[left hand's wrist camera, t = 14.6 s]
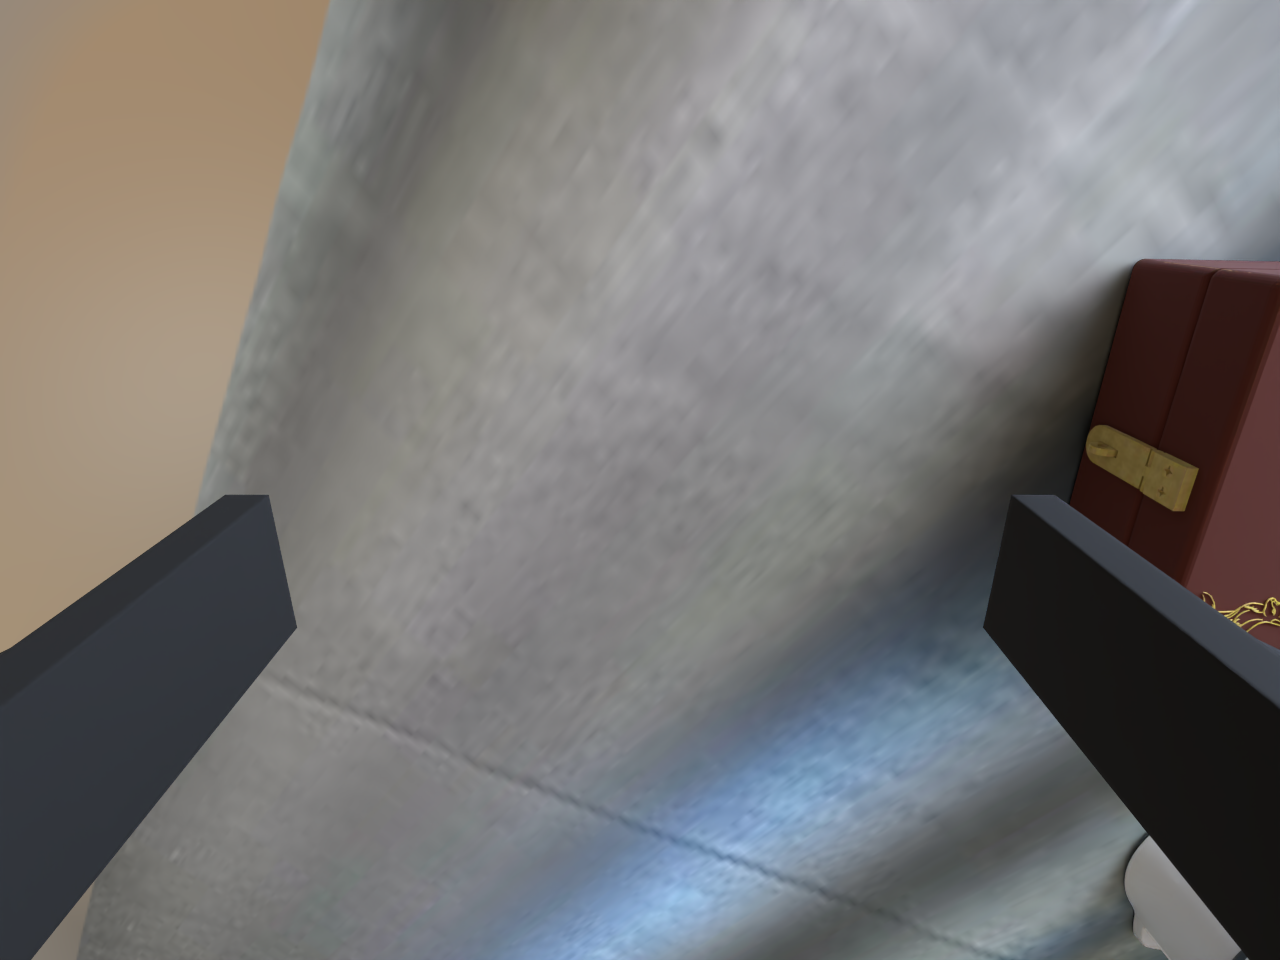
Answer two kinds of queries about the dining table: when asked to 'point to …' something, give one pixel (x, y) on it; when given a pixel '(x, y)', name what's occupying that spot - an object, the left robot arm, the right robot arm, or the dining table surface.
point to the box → (1195, 434)
